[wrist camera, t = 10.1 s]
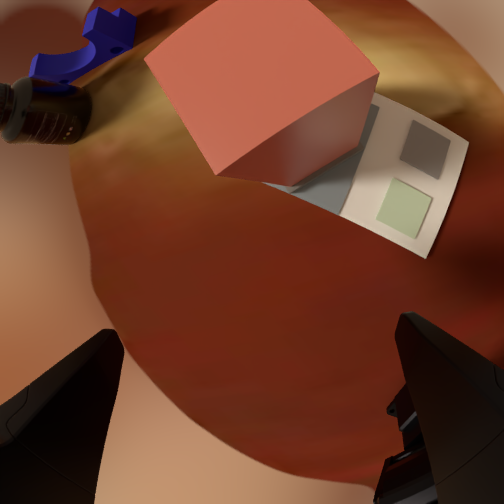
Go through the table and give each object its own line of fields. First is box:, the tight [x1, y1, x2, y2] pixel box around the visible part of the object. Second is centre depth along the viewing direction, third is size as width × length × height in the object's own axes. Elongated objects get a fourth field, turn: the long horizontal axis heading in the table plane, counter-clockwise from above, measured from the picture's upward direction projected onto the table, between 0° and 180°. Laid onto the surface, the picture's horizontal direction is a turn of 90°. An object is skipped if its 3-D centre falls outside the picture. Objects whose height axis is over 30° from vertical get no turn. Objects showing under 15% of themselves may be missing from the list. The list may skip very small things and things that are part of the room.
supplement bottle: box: [0, 77, 91, 145], centre depth 19 cm, size 7×7×12 cm
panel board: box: [263, 92, 469, 259], centre depth 17 cm, size 15×9×1 cm, turn 68°
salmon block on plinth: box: [144, 0, 380, 194], centre depth 12 cm, size 6×6×12 cm
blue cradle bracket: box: [29, 7, 137, 85], centre depth 19 cm, size 12×4×6 cm, turn 92°
